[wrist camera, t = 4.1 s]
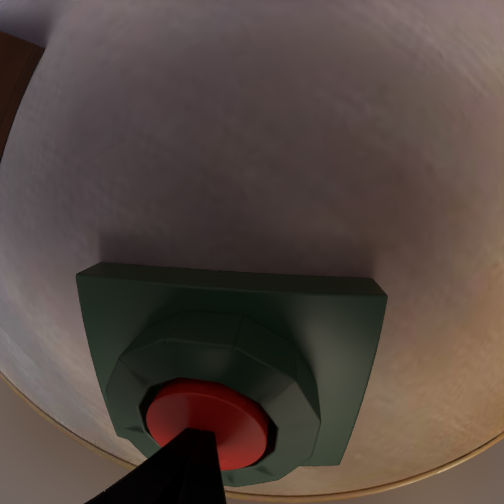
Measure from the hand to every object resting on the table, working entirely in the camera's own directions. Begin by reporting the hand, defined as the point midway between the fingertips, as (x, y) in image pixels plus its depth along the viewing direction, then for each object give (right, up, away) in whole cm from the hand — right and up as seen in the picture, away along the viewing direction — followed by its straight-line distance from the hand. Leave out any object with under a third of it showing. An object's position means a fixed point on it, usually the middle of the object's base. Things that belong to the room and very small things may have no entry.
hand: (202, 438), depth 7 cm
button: (0, 0, +2) cm, 2 cm away
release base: (0, +1, +4) cm, 4 cm away
